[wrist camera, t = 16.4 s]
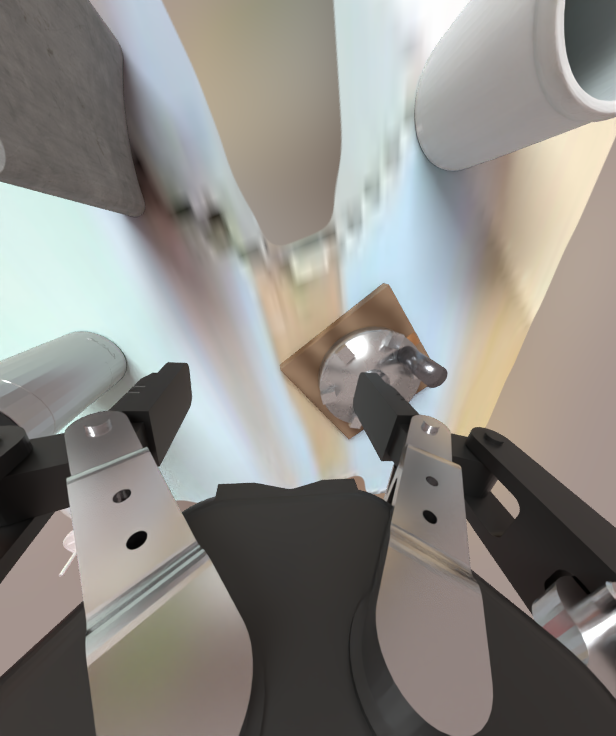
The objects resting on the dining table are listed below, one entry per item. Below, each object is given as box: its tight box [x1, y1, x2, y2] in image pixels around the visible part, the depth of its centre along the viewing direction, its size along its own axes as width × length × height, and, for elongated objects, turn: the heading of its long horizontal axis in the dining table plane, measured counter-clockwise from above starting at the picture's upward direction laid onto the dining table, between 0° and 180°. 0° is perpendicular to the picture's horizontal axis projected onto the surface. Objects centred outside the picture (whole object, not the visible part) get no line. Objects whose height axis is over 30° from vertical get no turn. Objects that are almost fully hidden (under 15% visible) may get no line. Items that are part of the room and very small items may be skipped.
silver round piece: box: [318, 326, 447, 429], centre depth 38 cm, size 18×18×11 cm
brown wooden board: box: [280, 283, 429, 439], centre depth 43 cm, size 22×22×2 cm
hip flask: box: [0, 0, 145, 217], centre depth 17 cm, size 16×4×20 cm, turn 173°
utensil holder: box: [415, 0, 616, 171], centre depth 22 cm, size 15×15×18 cm
